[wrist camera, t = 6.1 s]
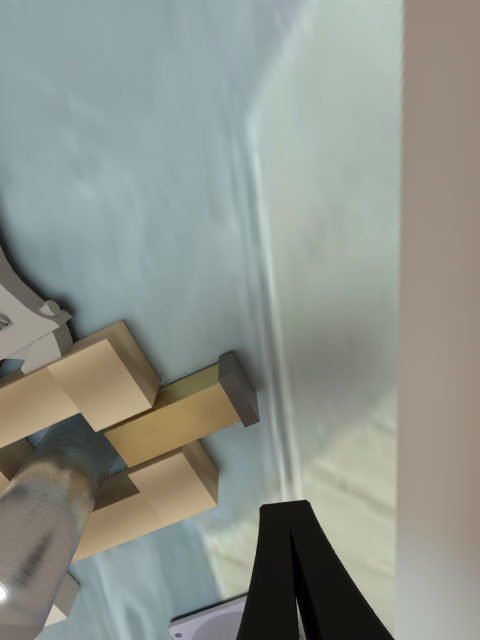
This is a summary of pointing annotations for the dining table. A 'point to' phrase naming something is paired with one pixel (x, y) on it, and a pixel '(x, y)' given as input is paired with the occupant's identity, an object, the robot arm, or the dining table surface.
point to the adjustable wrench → (29, 323)
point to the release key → (187, 412)
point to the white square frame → (63, 601)
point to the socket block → (100, 412)
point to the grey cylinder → (47, 521)
